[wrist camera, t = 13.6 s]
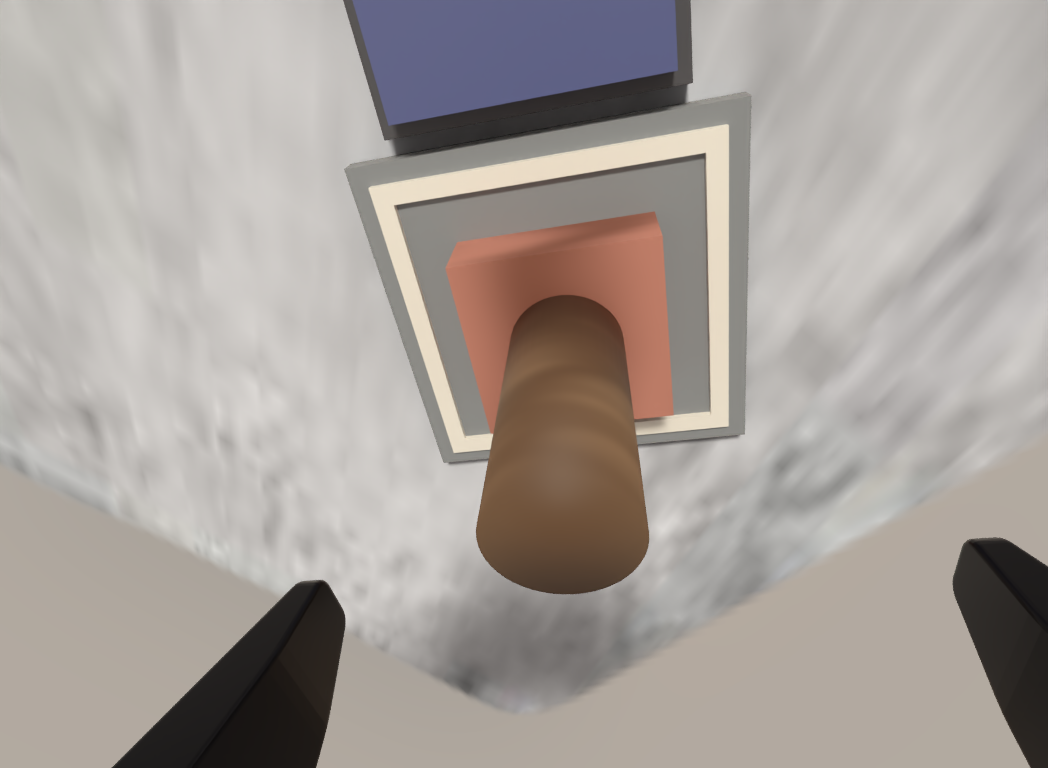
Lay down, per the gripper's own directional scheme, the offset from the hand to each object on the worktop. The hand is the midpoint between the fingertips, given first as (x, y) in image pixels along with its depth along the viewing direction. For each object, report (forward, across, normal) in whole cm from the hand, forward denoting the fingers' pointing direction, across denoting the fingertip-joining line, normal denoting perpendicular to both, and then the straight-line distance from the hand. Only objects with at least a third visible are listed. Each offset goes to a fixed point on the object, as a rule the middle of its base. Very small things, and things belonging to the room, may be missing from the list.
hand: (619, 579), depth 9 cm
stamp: (+12, +1, +2) cm, 12 cm away
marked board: (+12, +1, +2) cm, 13 cm away
